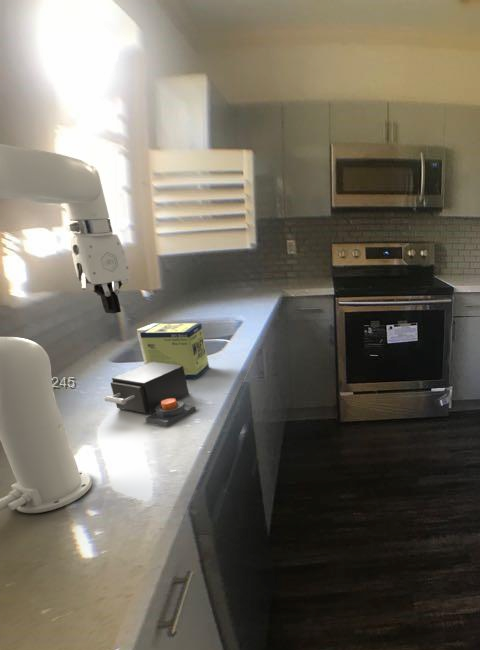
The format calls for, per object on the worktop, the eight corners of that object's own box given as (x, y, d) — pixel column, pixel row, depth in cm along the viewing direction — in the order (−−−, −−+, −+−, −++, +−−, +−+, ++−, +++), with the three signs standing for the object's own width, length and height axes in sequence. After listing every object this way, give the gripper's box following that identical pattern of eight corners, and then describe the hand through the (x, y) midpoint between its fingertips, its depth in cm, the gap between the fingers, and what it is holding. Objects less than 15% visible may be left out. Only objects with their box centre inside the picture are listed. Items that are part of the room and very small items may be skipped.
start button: (169, 410, 117) (168, 404, 116) (159, 408, 118) (157, 402, 117) (180, 405, 120) (179, 399, 119) (169, 403, 121) (168, 397, 120)
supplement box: (156, 366, 156) (148, 329, 151) (144, 366, 157) (135, 329, 152) (171, 358, 164) (164, 323, 159) (159, 358, 165) (152, 322, 160)
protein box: (198, 378, 145) (188, 331, 139) (149, 379, 145) (138, 332, 139) (210, 367, 155) (202, 322, 149) (164, 368, 155) (155, 323, 149)
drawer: (132, 420, 117) (125, 394, 114) (103, 414, 120) (95, 388, 118) (181, 395, 131) (176, 371, 128) (153, 390, 135) (148, 367, 132)
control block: (167, 427, 115) (164, 415, 113) (146, 423, 117) (143, 411, 116) (196, 410, 123) (193, 400, 122) (176, 407, 126) (173, 396, 124)
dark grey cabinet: (151, 414, 122) (144, 383, 118) (119, 408, 126) (111, 378, 122) (189, 395, 133) (183, 365, 130) (159, 390, 137) (152, 361, 134)
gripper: (70, 231, 90) (95, 321, 97) (133, 226, 103) (151, 306, 110) (45, 231, 93) (71, 319, 100) (109, 226, 106) (128, 304, 113)
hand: (113, 312), depth 105 cm, fingers closed
